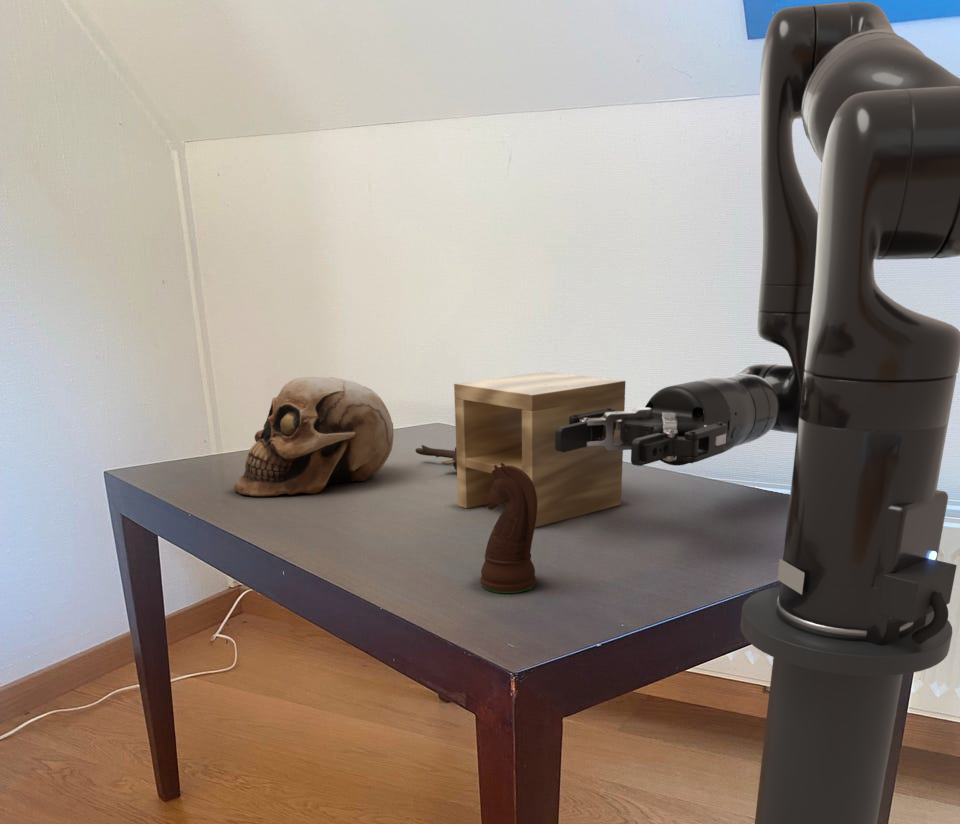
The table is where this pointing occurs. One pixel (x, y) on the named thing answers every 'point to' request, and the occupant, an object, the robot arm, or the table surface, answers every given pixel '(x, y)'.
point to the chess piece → (510, 533)
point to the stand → (537, 441)
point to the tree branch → (439, 454)
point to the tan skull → (318, 438)
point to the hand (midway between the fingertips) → (595, 446)
